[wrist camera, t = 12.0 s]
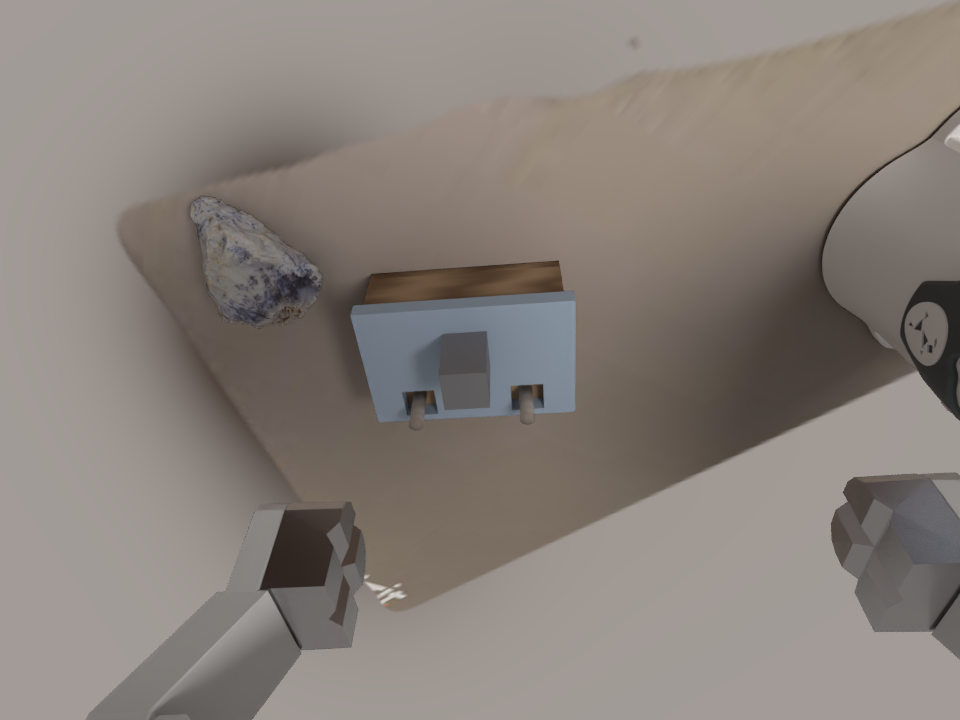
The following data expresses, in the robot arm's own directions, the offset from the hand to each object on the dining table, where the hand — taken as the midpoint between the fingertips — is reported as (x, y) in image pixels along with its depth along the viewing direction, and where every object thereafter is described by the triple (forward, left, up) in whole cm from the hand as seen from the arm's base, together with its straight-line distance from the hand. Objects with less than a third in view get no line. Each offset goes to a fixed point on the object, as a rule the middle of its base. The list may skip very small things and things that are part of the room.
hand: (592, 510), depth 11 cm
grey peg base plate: (+5, +19, -29) cm, 35 cm away
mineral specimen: (+19, +12, -34) cm, 42 cm away
